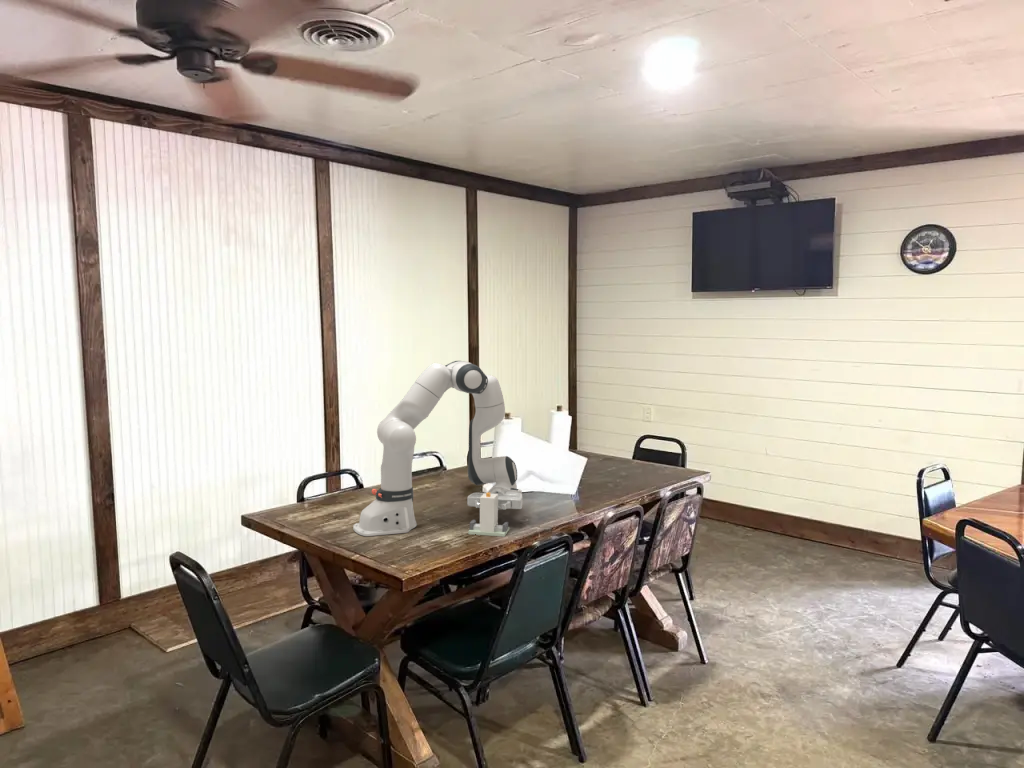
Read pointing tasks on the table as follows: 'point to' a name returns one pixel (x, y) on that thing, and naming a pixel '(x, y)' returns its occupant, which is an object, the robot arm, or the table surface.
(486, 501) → the block
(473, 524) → the rail plate
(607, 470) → the table surface
